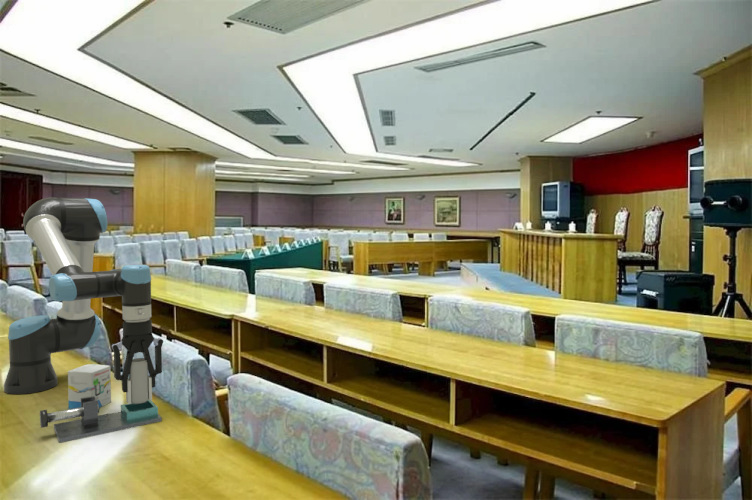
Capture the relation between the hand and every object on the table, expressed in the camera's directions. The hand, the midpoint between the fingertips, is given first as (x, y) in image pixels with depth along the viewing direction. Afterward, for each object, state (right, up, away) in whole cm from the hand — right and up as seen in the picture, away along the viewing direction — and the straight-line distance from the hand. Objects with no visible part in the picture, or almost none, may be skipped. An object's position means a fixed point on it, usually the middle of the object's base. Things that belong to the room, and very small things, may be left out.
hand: (139, 400), depth 154 cm
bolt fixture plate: (-6, -5, -4) cm, 10 cm away
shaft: (-14, -3, -10) cm, 17 cm away
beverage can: (0, -1, 0) cm, 1 cm away
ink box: (-20, -5, +11) cm, 23 cm away
